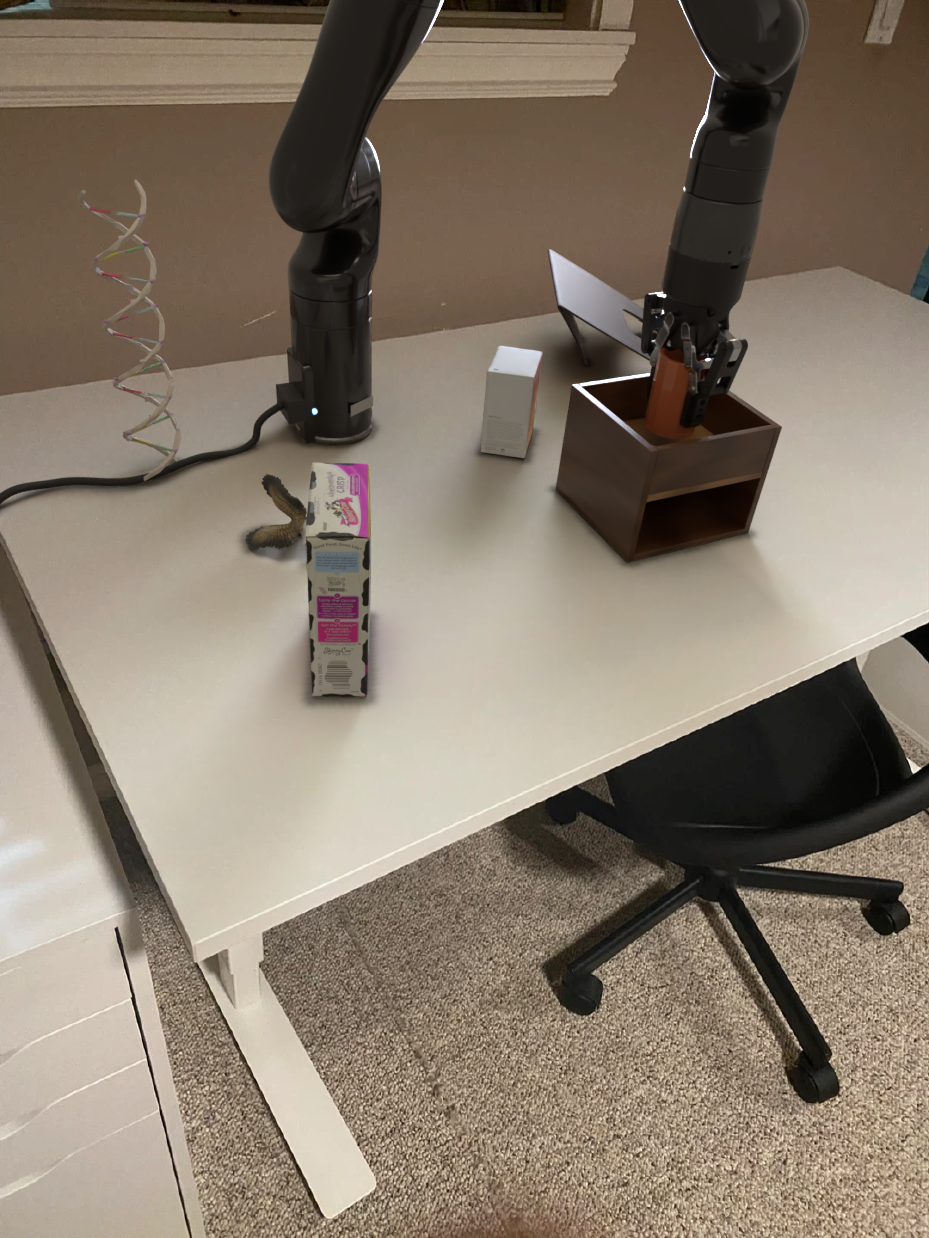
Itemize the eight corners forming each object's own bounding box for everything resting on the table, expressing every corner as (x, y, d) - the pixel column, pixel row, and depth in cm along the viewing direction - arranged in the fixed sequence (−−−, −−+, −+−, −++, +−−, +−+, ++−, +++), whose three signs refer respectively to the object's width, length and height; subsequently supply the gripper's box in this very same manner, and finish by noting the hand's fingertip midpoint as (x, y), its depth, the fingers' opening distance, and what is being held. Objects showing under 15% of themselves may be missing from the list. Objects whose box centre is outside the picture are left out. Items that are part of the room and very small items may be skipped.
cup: (663, 442, 93) (680, 368, 88) (634, 419, 97) (649, 346, 91) (704, 434, 95) (723, 362, 90) (674, 412, 98) (691, 340, 93)
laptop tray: (664, 428, 131) (706, 376, 126) (529, 349, 124) (568, 291, 119) (642, 360, 149) (677, 313, 144) (523, 288, 141) (556, 236, 136)
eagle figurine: (347, 514, 96) (266, 486, 96) (345, 486, 89) (257, 456, 89) (321, 579, 94) (238, 551, 94) (317, 556, 87) (227, 525, 87)
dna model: (161, 452, 105) (116, 171, 86) (200, 471, 103) (162, 185, 83) (114, 474, 101) (54, 183, 82) (153, 495, 98) (101, 199, 79)
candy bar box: (371, 699, 77) (371, 538, 66) (310, 700, 76) (301, 537, 66) (370, 614, 85) (370, 460, 75) (316, 614, 85) (308, 459, 74)
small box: (524, 460, 109) (535, 378, 103) (479, 453, 110) (486, 371, 103) (534, 430, 115) (544, 350, 109) (490, 423, 116) (498, 343, 109)
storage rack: (626, 562, 94) (651, 451, 86) (555, 490, 105) (571, 384, 96) (748, 533, 100) (782, 426, 92) (669, 467, 110) (693, 365, 102)
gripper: (634, 224, 87) (605, 388, 98) (727, 275, 78) (684, 451, 88) (697, 219, 90) (662, 379, 101) (795, 268, 80) (745, 439, 91)
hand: (672, 412), depth 95 cm, fingers closed on cup, 5 cm apart
